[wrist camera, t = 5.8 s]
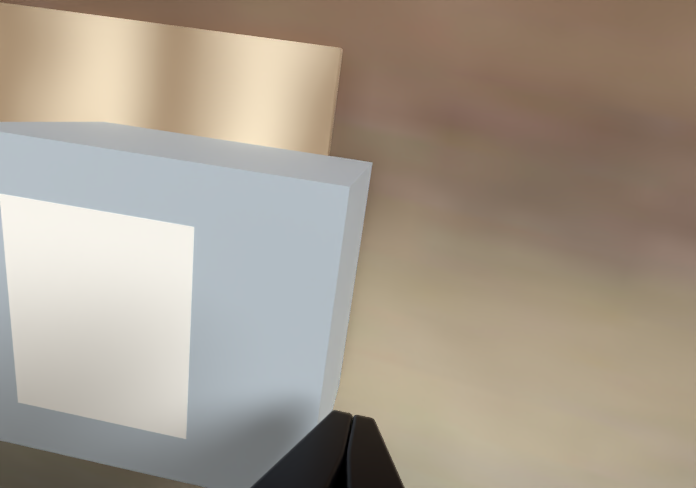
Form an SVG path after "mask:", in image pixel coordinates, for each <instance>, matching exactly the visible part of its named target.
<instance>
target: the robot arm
mask: <svg viewBox="0 0 696 488" xmlns="http://www.w3.org/2000/svg"><path fill="white" fill-rule="evenodd" d="M352 419H353V420H352ZM250 488H404V485H403V483H402V481H401V479H400V476H399V474H398V472H397V470H396V467H395V465H394V463H393V460H392V458H391V456H390V454H389V451H388V449H387V447H386V445H385V442H384V440H383V438H382V436H381V433H380V431H379V429H378V426H377V424H376V422H375V420H374V419H373V418H370V417H365V416H360V415H355V416H354V417H353V416H352V415H351V414H350V413H346V412H341V411H337V410H333V411H331V412H330V413H329V414H328V415H327V416H326V417H325V418H324V419H323V420H322V421H321V422H320V423H319V424H317V425H316V426H315V427H314V428H313V429H312V430H311V431H310V432H309V433H308V434H307V435H306V436H305V437H304V438H302V439H301V440H300V441H299V442H298V443H297V444H296V445H295V446H294V447H293V448H292V449H291V450H290V451H289V452H288V453H286V454H285V455H284V456H283V457H282V458H281V459H280V460H279V461H278V462H277V463H276V464H275V465H274V466H273V467H271V468H270V469H269V470H268V471H267V472H266V473H265V474H264V475H263V476H262V477H261V478H260V479H259V480H258V481H257V482H255V483H254V484H253V485H252V486H251V487H250Z"/></svg>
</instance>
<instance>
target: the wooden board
mask: <svg viewBox="0 0 696 488" xmlns="http://www.w3.org/2000/svg"><path fill="white" fill-rule="evenodd" d="M342 52H343V50H342V49H341V48H337V47H329V46H322V45H315V44H307V43H300V42H292V41H285V40H277V39H270V38H262V37H255V36H247V35H240V34H232V33H225V32H217V31H210V30H202V29H195V28H188V27H180V26H173V25H165V24H158V23H150V22H143V21H135V20H128V19H120V18H113V17H105V16H98V15H90V14H83V13H76V12H68V11H61V10H53V9H46V8H38V7H31V6H23V5H16V4H8V3H1V2H0V122H109V123H115V124H122V125H128V126H135V127H142V128H148V129H155V130H161V131H168V132H175V133H181V134H188V135H194V136H201V137H208V138H214V139H221V140H227V141H234V142H241V143H247V144H254V145H260V146H267V147H274V148H280V149H287V150H293V151H300V152H307V153H313V154H320V155H326V156H329V154H330V147H331V139H332V131H333V123H334V115H335V107H336V99H337V92H338V84H339V76H340V68H341V60H342Z"/></svg>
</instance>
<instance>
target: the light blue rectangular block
mask: <svg viewBox="0 0 696 488" xmlns="http://www.w3.org/2000/svg"><path fill="white" fill-rule="evenodd" d="M372 163H373V162H366V161H359V160H353V159H346V158H340V157H333V156H326V155H320V154H313V153H307V152H300V151H293V150H287V149H280V148H274V147H267V146H260V145H254V144H247V143H241V142H234V141H227V140H221V139H214V138H208V137H201V136H194V135H188V134H181V133H175V132H168V131H161V130H155V129H148V128H142V127H135V126H128V125H122V124H115V123H109V122H0V441H5V442H9V443H13V444H18V445H22V446H26V447H31V448H35V449H40V450H44V451H48V452H53V453H57V454H61V455H66V456H70V457H75V458H79V459H83V460H88V461H92V462H96V463H101V464H105V465H110V466H114V467H118V468H123V469H127V470H131V471H136V472H140V473H145V474H149V475H153V476H158V477H162V478H166V479H171V480H175V481H180V482H184V483H188V484H193V485H197V486H201V487H206V488H250V487H251V486H252V485H253V484H254V483H255V482H257V481H258V480H259V479H260V478H261V477H262V476H263V475H264V474H265V473H266V472H267V471H268V470H269V469H270V468H271V467H273V466H274V465H275V464H276V463H277V462H278V461H279V460H280V459H281V458H282V457H283V456H284V455H285V454H286V453H288V452H289V451H290V450H291V449H292V448H293V447H294V446H295V445H296V444H297V443H298V442H299V441H300V440H301V439H302V438H304V437H305V436H306V435H307V434H308V433H309V432H310V431H311V430H312V429H313V428H314V427H315V426H316V425H317V424H319V423H320V422H321V421H322V420H323V419H324V418H325V417H326V416H327V415H328V414H329V413H330V412H331V411H332V410H333V406H334V402H335V399H336V395H337V391H338V388H339V382H340V376H341V369H342V363H343V356H344V349H345V343H346V336H347V329H348V323H349V316H350V309H351V303H352V296H353V289H354V283H355V276H356V269H357V263H358V256H359V249H360V243H361V236H362V229H363V223H364V216H365V209H366V203H367V196H368V189H369V183H370V176H371V169H372Z"/></svg>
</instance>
